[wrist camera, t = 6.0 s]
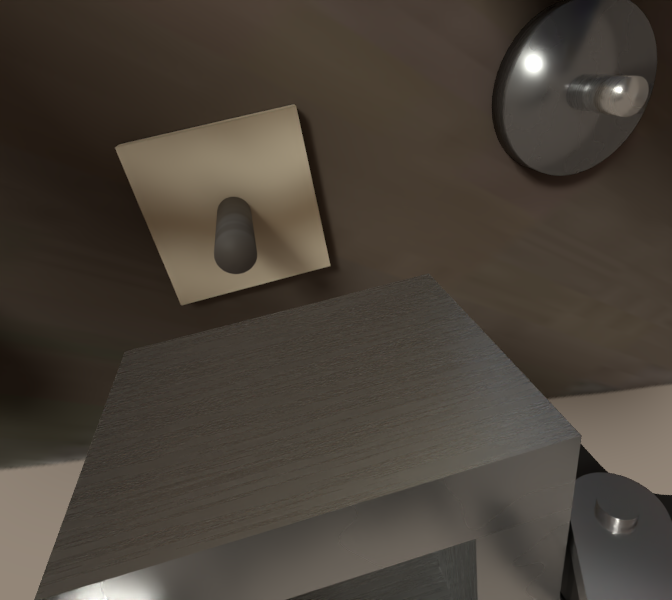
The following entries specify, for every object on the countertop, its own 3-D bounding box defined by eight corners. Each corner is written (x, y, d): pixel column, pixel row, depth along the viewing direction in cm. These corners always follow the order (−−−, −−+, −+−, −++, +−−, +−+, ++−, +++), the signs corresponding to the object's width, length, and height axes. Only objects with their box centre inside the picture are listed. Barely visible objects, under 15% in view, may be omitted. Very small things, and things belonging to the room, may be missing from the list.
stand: (119, 144, 22) (78, 175, 16) (293, 104, 23) (316, 119, 17) (182, 297, 27) (169, 366, 21) (327, 259, 28) (354, 314, 22)
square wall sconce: (124, 351, 8) (33, 601, 4) (428, 273, 9) (581, 434, 5) (220, 541, 11) (215, 792, 7) (444, 473, 12) (548, 673, 8)
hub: (490, 15, 23) (550, 5, 19) (647, -19, 24) (738, -36, 20) (492, 185, 28) (541, 208, 23) (624, 151, 29) (695, 167, 24)
